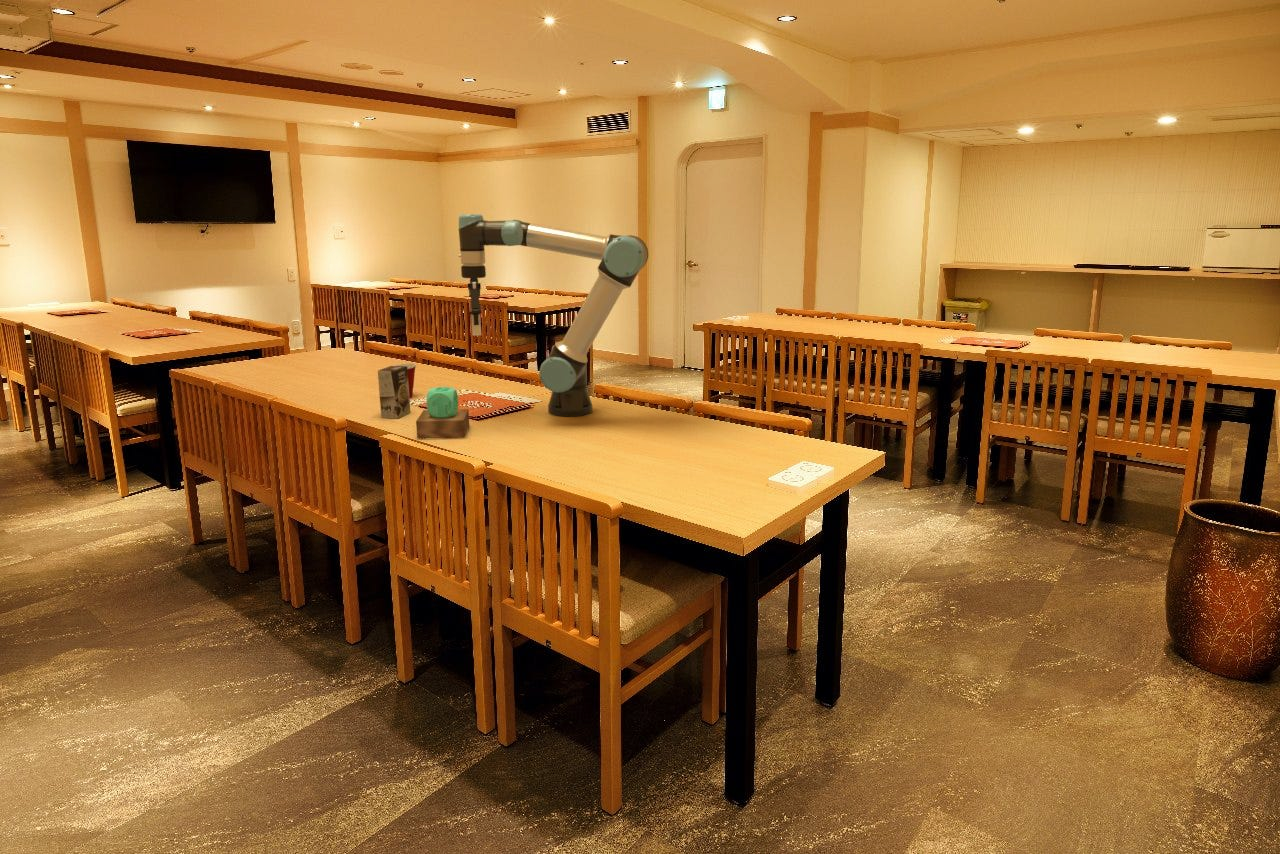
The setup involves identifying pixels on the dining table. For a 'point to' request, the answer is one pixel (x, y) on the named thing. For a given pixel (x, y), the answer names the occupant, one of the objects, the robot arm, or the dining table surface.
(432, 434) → the walnut block
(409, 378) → the plastic cup
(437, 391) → the decorative dice
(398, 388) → the coffee box
